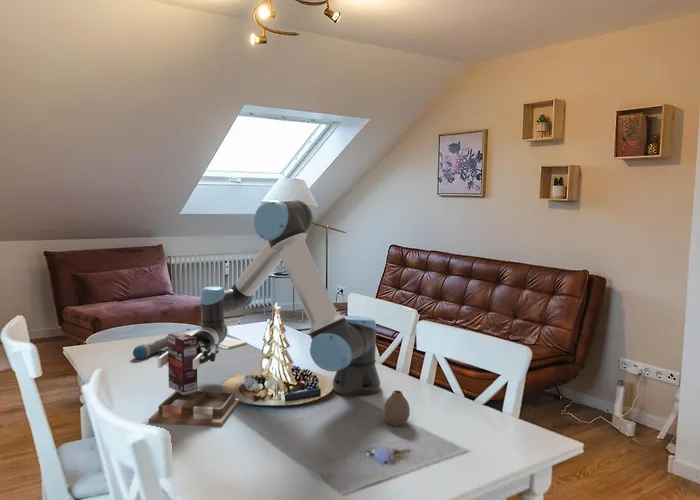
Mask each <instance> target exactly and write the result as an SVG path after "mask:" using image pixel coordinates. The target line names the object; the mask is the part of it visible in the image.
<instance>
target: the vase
mask: <svg viewBox="0 0 700 500" xmlns="http://www.w3.org/2000/svg"><path fill="white" fill-rule="evenodd" d="M403 394H404V393H403V392H402V390H393V391H392V393H391V395H390V396H389V397H388V398H387V400H386V401H385V403H384V407H383V408H384V409H383V413H384V417H385V420H386V422H388V424H390V425H391V426H395V427H400V426H403V425H405V424H406V423H407V422H408V420H409V417H410V410H411V409H410V405H409V402H408V400H407V398H406V397H405V396H404V395H403Z"/></svg>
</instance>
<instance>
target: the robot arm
mask: <svg viewBox="0 0 700 500" xmlns="http://www.w3.org/2000/svg"><path fill="white" fill-rule="evenodd" d="M313 215H314V214H313V212H312V209H311V208H310V206H308V204H307V203H305V202H303V201H301V200H298V199H283V200H281V199H273V200H267V201H265V202H262V203H261V204H260V205H259V206H258V208H257V209H256V211H255V214H254V216H253V227H254V230H255V232H256V234H257V236H259V238H260V239H263V240H265V241H266V243H265V244H264V246H263V247H262V248H261V249H260V250H259V251H258V253H257V254H256V255H255V257H254V259H253V260H252V261H251V262H250V263H249V264H248V266H247V267H246V268H245V270H244V271H243V272H242V273H241V275H239V277H238V279H236V281H235V282H234V284H232V286H231V287H230V288H228V289H225V288H224V287H222V286H205V287H203V288H202V289H201V292H200V293H201V295H200V329H198V330H199V331H197V332H196V333H195V334H194V335H192V336H193V337H196V338H197V357H195V358H194V359H193V369H196V368H197V369H198V368H199V367H200V366H201V365H202V364H205V363H207V362H209V361H210V362H215V361H216V357H217V354H218V353H219V352H220V351H219V350H220V348H219V344H220V343H221V342H223V340H224V339H225V337H228V336H227V335H228V331H229V330H228V329H229V328H228V326H227V324H226V323H225V313H229V312H232V311H236V310H241V309H245V308H247V307H248V306H250V305H251V304H252V303H253V302H254V295H255V293H256V292H257V291H258V289H260V287H261V286H262V285H263V283H264V282H265V281H266V280H267V279H268V278H269V276H270V275H271V274H272V273H273V272H274V270H275V269H276V268H277V267H278V265H280V263H281V262H282V263H283V266H284V268H285V270H286V272H287V275H288V277H289V279H290V281H291V283H292V286H293V288H294V291H295V293H296V294H297V296H298V299H299V301H300V303H301V305H302V308H303V310H304V313H305V315H306V316H307V319H308V321H309V325H310V329H309V332H308V334H309V337H310V338H311V339H310V340H311V342H310V347H309V354H310V357H311V359H312V361H313V362H314V364H315V365H316V366H317V367H318V368H320V369H322V370H324V371H327V372H335V374H334V377H333V380H332V388H333V387H334V389H333V391H334V392H335V393H338V394H340V395H344V396H349V397H350V396H351V397H365V396H370V395H371V396H372V395H375V394H377V393H379V391H380V390H381V380H380V376H379V373H378V370H377V366H376V345H377V344H376V343H377V342H376V341H377V325H376V324H377V323H376V320H375V319H373V318H371V317H365V316H356V315H354V316H353V315H341V314H339V313H338V312H337V310H336V307H335V305H334V302H333V301H332V298H331V296H330V294H329V292H328V290H327V287H326V286H325V285H326V284H325V283H324V281H323V279H322V276H321V275H320V271H319V270H318V267H317V265H316V263H315V262H314V261H315V260H314V258H313V256H312V254H311V252H310V249H309V247H308V246H307V243H306V239H307V236H308V234H309V232H310V231H311V229H312V226H313V223H314V216H313ZM167 363H168V347H166V348H163V349H161V350H159V352H158V358H157V368H158V369H161V368H162V367H163V366H165V365H167Z"/></svg>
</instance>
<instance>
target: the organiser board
mask: <svg viewBox="0 0 700 500" xmlns="http://www.w3.org/2000/svg"><path fill="white" fill-rule="evenodd" d="M235 398H236V392H235V391H214V390H213V391H211V390H197V392H193V393H189V394H186V395H182V394H181V393H179V392H177V391H175V390H174V391H173V393H171V394H170V395H169V396H168V397H167V398H166V399H165V400H164V401H163V402H162V403H161V404H159V406H158V410H156V411H155V412H154V413H153V414H152V415H151V416H150V417H149V418H148V419H147V420H148V423H149V424H165V425H166V424H169V425H171V424H172V425H188V426H189V425H191V426H209V427H210V426H212V427H213V426H215V427H222V426H223V425H224V424H225V422H226V421H227V419H228V418H229V417H230V415H231V413H232V412H233V411H234V410H235V408H236V407H237V406H236V405H238V404H239V403H238V401H237V400H235Z"/></svg>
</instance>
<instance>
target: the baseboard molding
mask: <svg viewBox="0 0 700 500" xmlns="http://www.w3.org/2000/svg"><path fill="white" fill-rule="evenodd" d="M199 328H200V327H197V328H195V329H194V330H192V329H193V328H192V329H191V328H187V329H185V333H186V334H188V335H191V336H192V335H194V334H195V333H196V332H197V331H199V330H200V329H199ZM190 330H192V331H190ZM186 331H187V332H186ZM181 332H183V333H184V330H183V331H181ZM247 344H248V341H244V340H240V339H236V338H232V337H230V336H226V337H225V339H224V340H223V342H221V343H220V344H219V349H223V350H231V349H234V348H238V347H242V346H245V345H247Z"/></svg>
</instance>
